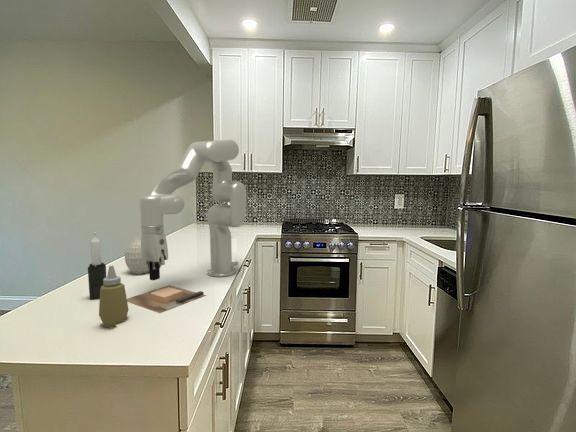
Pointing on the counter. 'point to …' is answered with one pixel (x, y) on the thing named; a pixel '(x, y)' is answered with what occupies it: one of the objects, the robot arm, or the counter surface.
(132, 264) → the vase
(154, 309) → the board
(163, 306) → the turner
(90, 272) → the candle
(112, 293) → the squeeze bottle
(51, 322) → the counter surface
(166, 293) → the tile
